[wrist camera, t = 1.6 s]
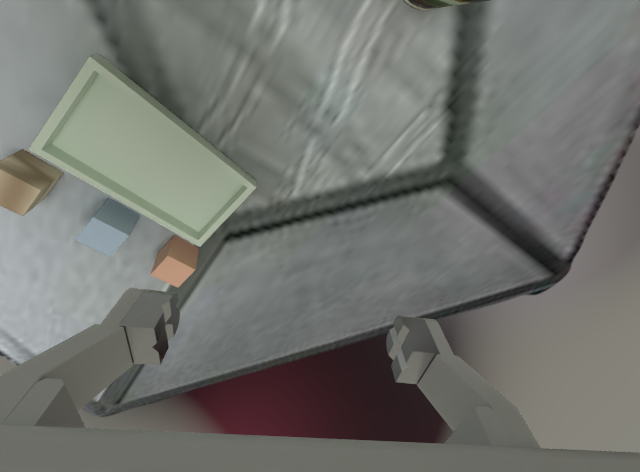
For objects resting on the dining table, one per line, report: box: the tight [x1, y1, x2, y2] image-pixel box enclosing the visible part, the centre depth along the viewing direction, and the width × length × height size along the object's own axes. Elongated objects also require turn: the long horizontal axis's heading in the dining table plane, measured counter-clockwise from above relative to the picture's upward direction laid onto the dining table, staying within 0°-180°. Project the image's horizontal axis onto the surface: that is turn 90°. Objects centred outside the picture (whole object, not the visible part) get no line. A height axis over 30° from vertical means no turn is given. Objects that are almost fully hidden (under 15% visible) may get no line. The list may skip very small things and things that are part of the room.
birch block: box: [0, 149, 64, 216], centre depth 32 cm, size 4×4×5 cm
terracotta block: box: [150, 235, 199, 287], centre depth 41 cm, size 4×4×5 cm
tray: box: [28, 55, 256, 247], centre depth 35 cm, size 20×12×3 cm, turn 43°
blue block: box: [75, 198, 140, 256], centre depth 36 cm, size 4×4×5 cm
